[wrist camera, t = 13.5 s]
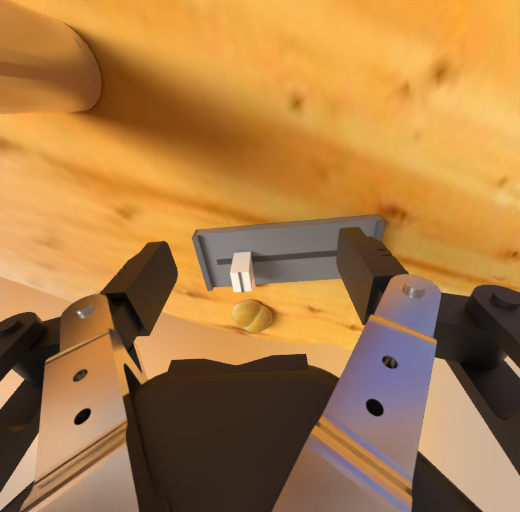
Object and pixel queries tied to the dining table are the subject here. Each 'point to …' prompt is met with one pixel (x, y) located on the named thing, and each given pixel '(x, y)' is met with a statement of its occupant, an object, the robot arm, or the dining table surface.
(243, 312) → the bread roll
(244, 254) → the fader cap
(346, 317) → the dining table surface
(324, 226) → the fader board
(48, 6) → the dining table surface
